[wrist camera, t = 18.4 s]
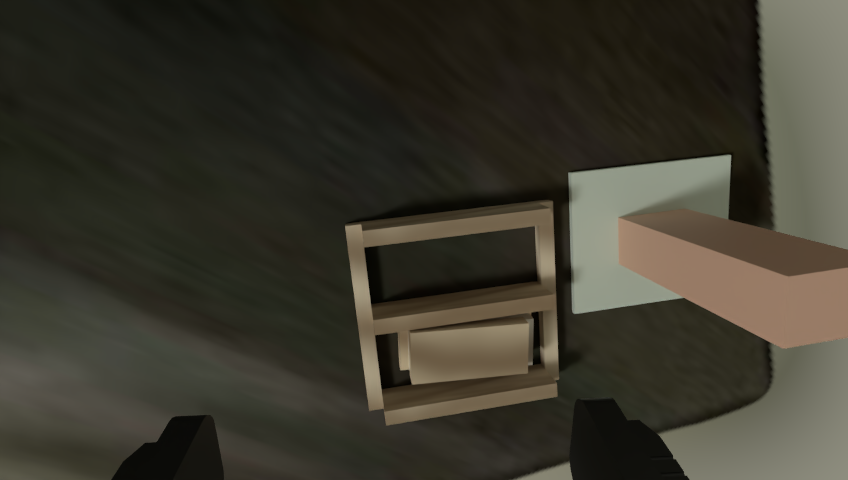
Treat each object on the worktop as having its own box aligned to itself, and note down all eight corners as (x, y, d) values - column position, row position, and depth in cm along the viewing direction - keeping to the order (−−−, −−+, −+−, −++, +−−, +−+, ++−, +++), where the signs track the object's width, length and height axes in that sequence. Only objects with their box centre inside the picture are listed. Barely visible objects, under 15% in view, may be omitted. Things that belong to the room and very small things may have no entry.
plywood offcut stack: (396, 313, 43) (402, 333, 39) (525, 303, 44) (543, 321, 40) (398, 362, 44) (404, 387, 40) (524, 351, 45) (542, 373, 41)
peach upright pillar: (618, 217, 43) (788, 276, 26) (685, 208, 44) (891, 260, 27) (618, 263, 44) (783, 348, 27) (684, 254, 45) (882, 331, 28)
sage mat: (568, 172, 42) (571, 173, 41) (727, 154, 44) (731, 154, 43) (572, 311, 45) (574, 313, 44) (720, 289, 46) (724, 291, 46)
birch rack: (345, 223, 40) (345, 233, 37) (548, 199, 42) (565, 206, 39) (368, 404, 44) (370, 428, 40) (554, 374, 46) (571, 394, 42)
